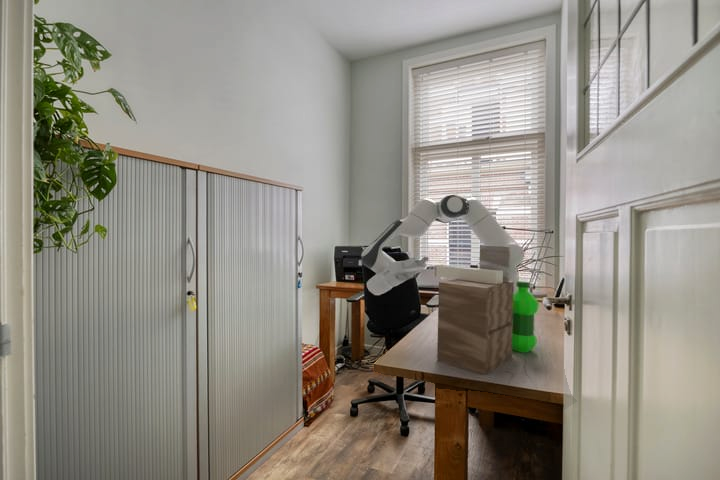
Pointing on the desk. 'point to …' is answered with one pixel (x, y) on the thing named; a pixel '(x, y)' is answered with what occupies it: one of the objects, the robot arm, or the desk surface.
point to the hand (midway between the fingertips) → (420, 258)
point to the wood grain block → (477, 317)
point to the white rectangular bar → (469, 274)
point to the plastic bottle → (523, 318)
